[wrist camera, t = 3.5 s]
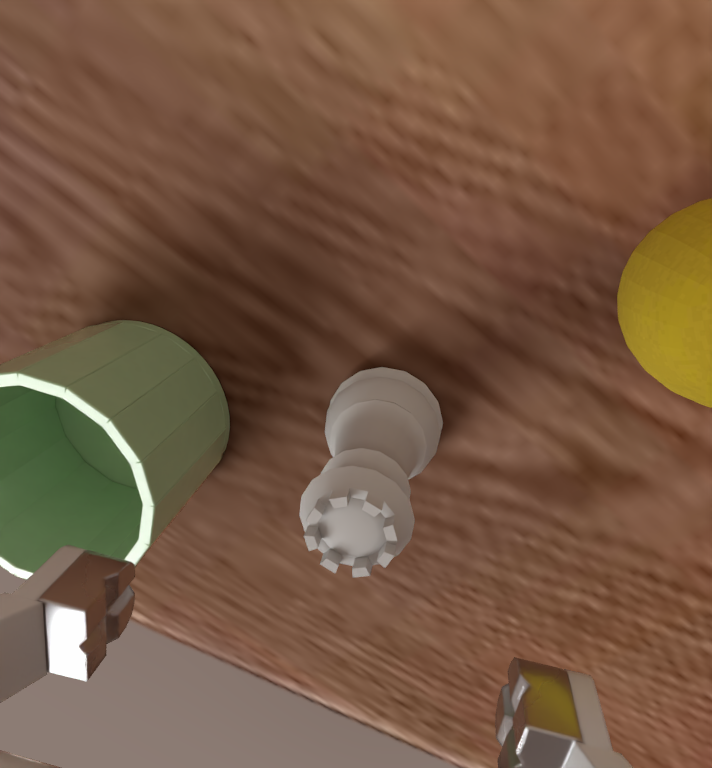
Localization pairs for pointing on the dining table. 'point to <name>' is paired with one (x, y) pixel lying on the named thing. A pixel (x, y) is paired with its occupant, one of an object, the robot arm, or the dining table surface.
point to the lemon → (672, 302)
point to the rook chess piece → (370, 469)
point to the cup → (103, 442)
